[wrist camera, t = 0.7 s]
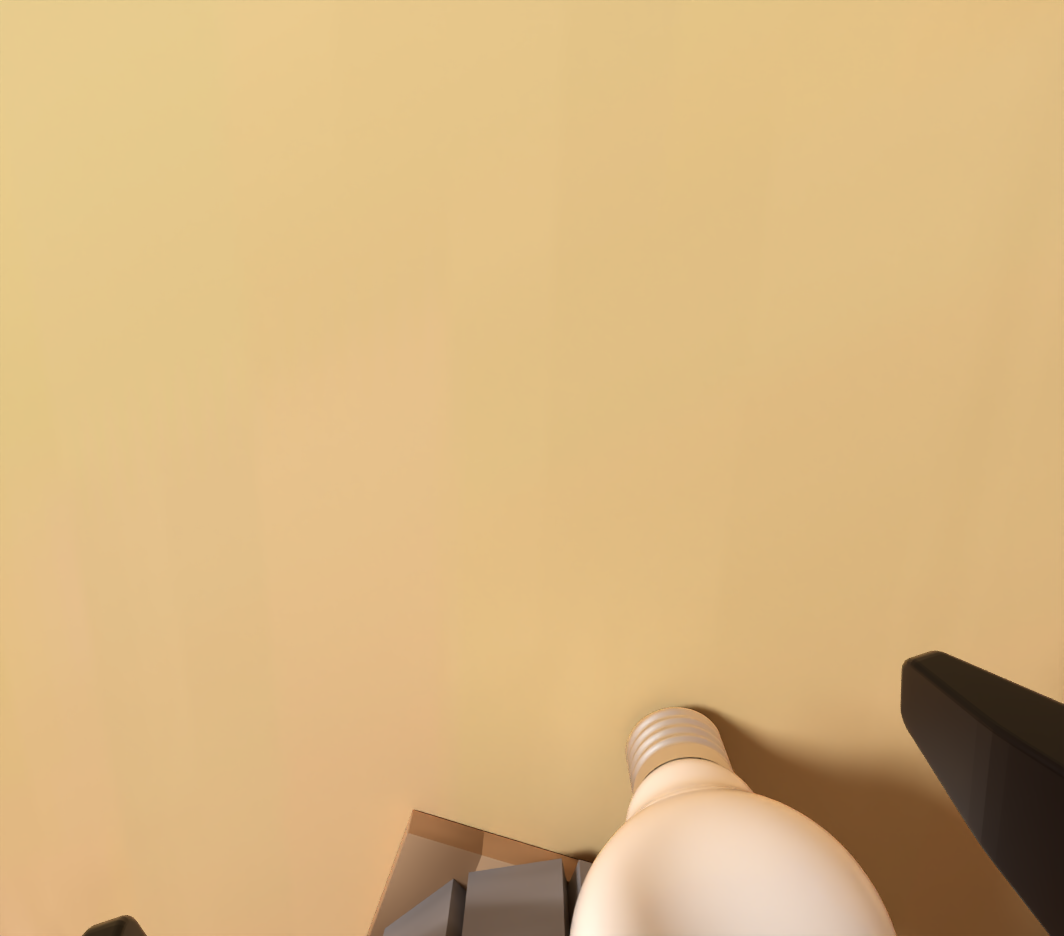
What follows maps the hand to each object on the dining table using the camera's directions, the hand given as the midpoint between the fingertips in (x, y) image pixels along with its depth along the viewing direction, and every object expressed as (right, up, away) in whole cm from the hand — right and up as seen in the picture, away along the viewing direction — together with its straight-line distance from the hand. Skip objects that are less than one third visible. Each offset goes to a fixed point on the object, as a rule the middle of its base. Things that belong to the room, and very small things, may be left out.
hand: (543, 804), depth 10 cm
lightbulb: (+4, -4, +15) cm, 16 cm away
